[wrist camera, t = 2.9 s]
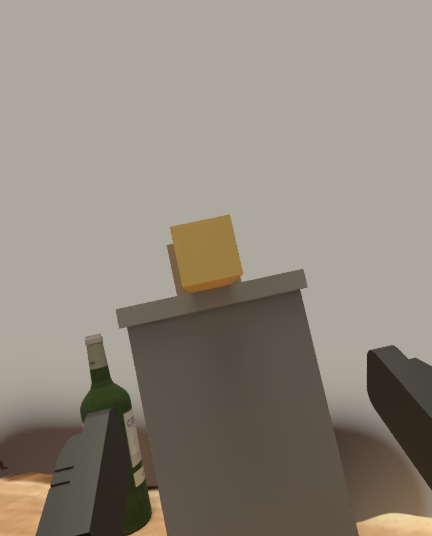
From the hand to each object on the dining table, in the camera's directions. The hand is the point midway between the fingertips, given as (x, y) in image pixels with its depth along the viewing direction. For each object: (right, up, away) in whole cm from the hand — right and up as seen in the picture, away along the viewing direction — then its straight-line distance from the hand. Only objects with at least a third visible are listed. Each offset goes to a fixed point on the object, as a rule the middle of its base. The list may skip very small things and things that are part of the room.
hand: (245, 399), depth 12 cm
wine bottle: (-15, -36, +47) cm, 62 cm away
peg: (-1, +2, +18) cm, 18 cm away
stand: (+5, -30, +23) cm, 38 cm away
